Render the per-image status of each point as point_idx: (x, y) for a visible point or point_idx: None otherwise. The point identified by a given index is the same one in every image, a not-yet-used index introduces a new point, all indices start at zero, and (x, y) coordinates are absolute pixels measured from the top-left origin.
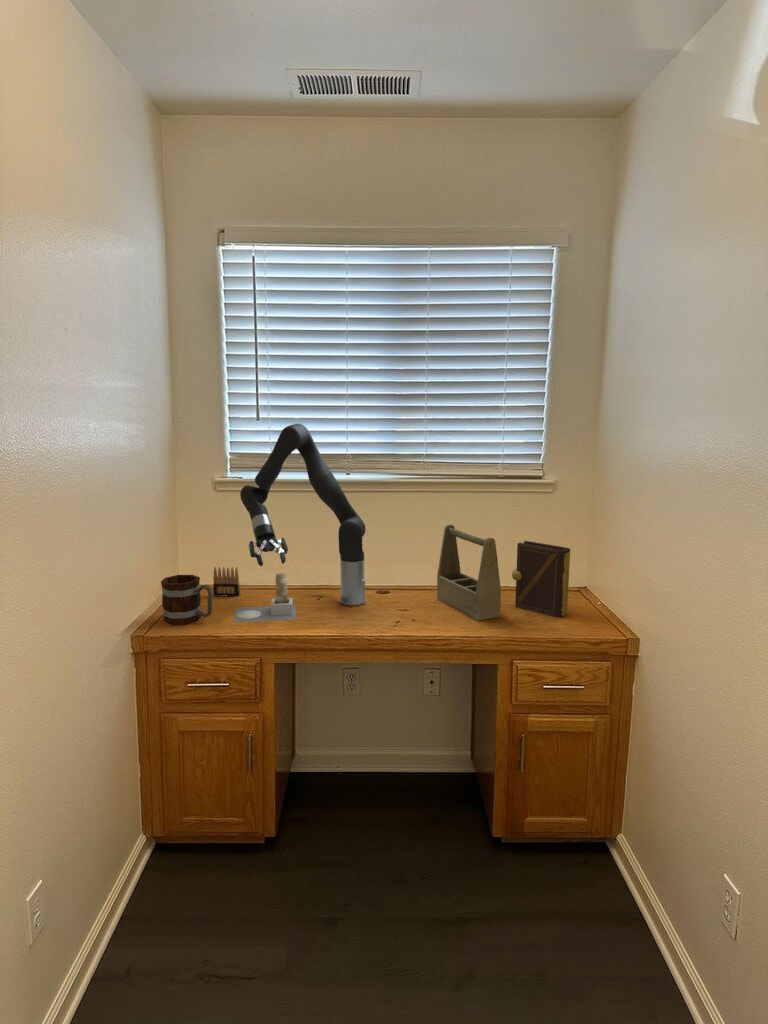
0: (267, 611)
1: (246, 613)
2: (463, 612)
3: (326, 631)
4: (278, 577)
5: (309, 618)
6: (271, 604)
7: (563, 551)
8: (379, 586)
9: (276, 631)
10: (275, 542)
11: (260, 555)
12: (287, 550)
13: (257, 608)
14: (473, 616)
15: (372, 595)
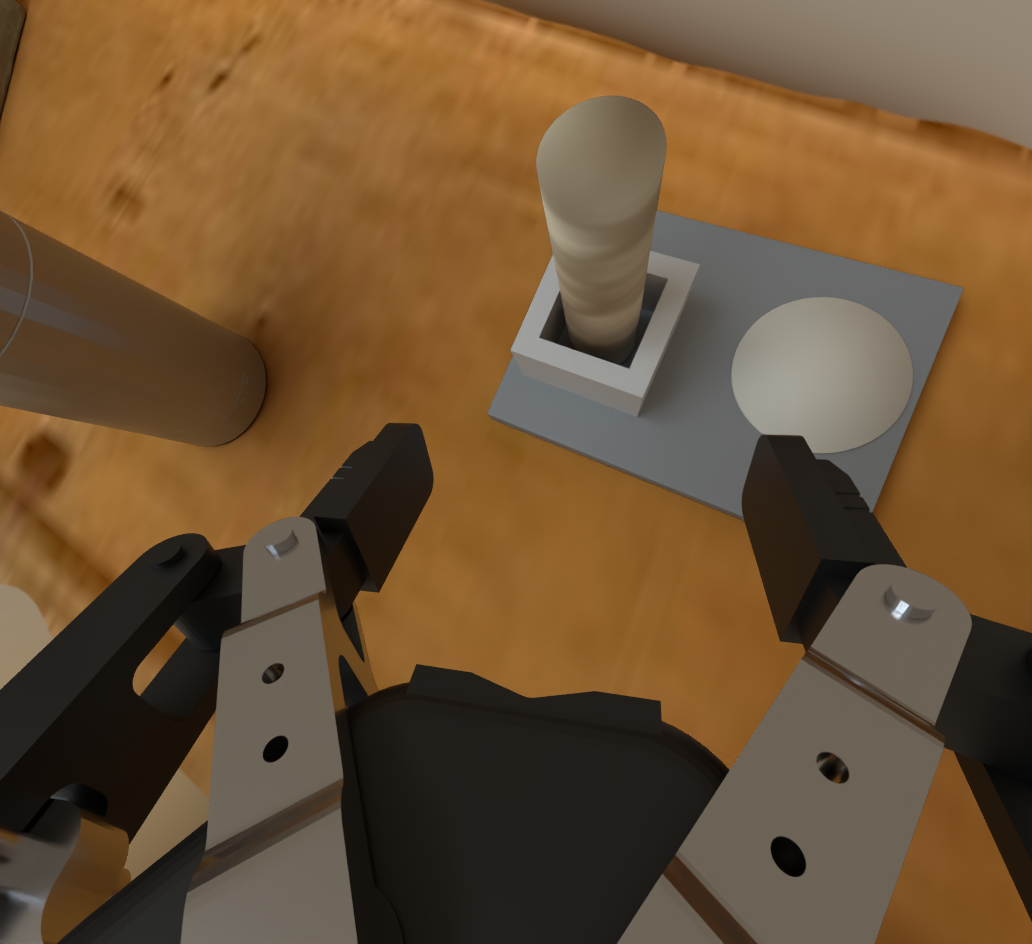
0: (681, 383)
1: (827, 396)
2: (3, 85)
3: (506, 63)
4: (648, 121)
5: (496, 252)
6: (693, 271)
7: None
8: (3, 555)
9: (721, 133)
10: (175, 893)
11: (833, 551)
12: (187, 537)
13: (721, 469)
14: (11, 20)
15: (101, 440)
